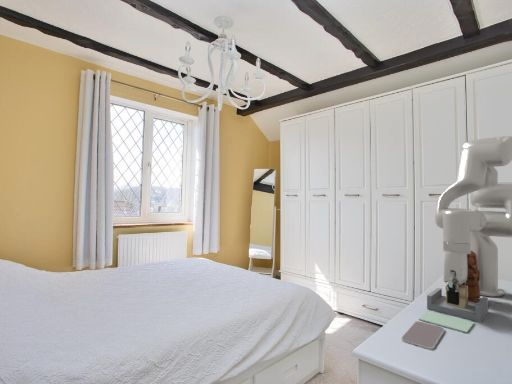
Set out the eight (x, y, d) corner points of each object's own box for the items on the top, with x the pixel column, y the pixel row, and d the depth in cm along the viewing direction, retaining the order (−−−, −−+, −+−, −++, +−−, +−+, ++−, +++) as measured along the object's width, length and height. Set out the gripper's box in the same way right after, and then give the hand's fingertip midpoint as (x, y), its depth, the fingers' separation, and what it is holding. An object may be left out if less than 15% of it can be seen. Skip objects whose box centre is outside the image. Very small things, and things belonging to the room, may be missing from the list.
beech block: (450, 300, 100) (450, 282, 100) (468, 304, 96) (467, 285, 97) (446, 304, 97) (446, 285, 97) (464, 308, 93) (464, 289, 93)
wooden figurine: (473, 305, 101) (472, 252, 101) (451, 300, 106) (451, 250, 106) (483, 298, 108) (482, 249, 108) (462, 294, 113) (462, 246, 113)
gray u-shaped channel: (437, 300, 106) (437, 287, 106) (487, 311, 96) (487, 297, 96) (427, 309, 97) (427, 295, 98) (480, 322, 87) (480, 307, 87)
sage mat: (428, 312, 95) (428, 310, 95) (474, 323, 86) (474, 322, 86) (418, 319, 89) (418, 318, 89) (467, 333, 80) (467, 331, 80)
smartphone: (399, 338, 76) (415, 320, 87) (399, 342, 76) (415, 323, 87) (432, 348, 71) (445, 328, 82) (432, 352, 71) (445, 331, 82)
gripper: (450, 243, 106) (450, 291, 105) (435, 249, 94) (436, 303, 93) (476, 246, 100) (476, 297, 100) (464, 252, 88) (464, 310, 88)
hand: (457, 300), depth 97 cm, fingers open, 9 cm apart
